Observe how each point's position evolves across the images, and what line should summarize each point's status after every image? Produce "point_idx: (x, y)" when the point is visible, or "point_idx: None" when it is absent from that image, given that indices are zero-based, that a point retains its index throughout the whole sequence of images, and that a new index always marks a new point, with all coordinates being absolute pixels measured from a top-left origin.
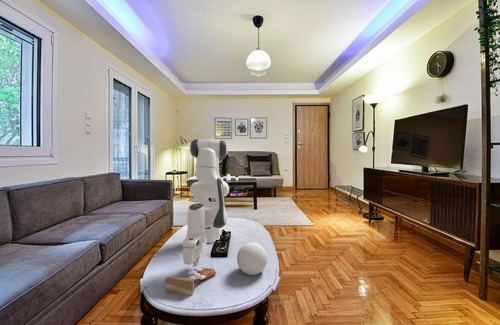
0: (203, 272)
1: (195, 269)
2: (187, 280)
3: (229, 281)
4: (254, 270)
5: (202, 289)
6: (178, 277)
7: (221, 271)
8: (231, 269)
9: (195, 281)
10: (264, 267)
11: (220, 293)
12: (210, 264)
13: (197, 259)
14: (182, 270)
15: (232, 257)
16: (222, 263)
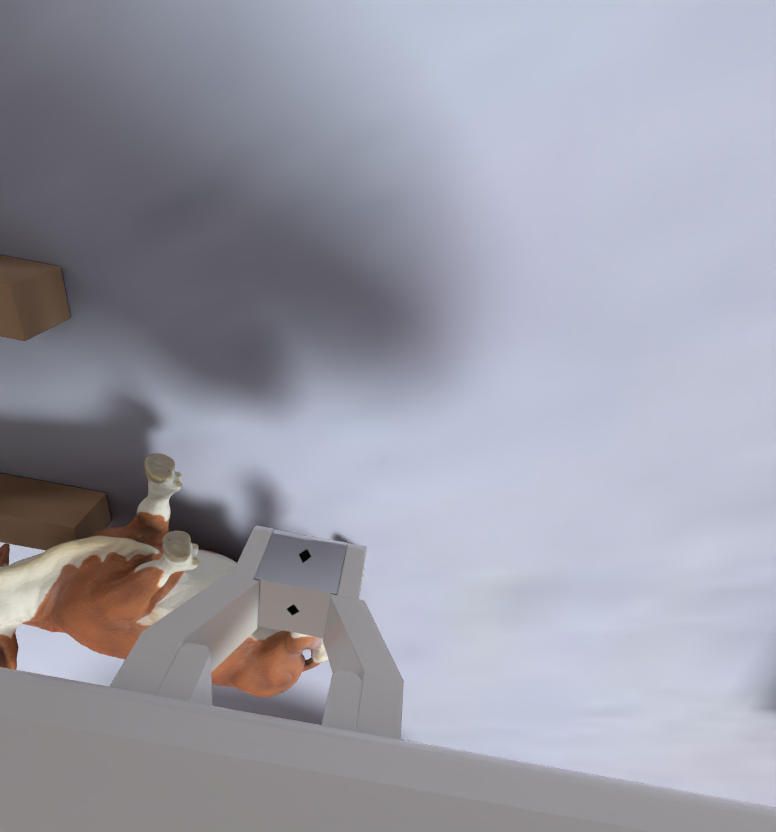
0: (95, 651)
1: (166, 558)
2: None
3: (223, 703)
4: None
5: (19, 555)
6: (3, 283)
7: (401, 668)
8: (442, 723)
9: (16, 529)
10: None
11: (31, 658)
12: (606, 585)
13: (334, 657)
14: (447, 224)
15: (740, 743)
16: (602, 677)
